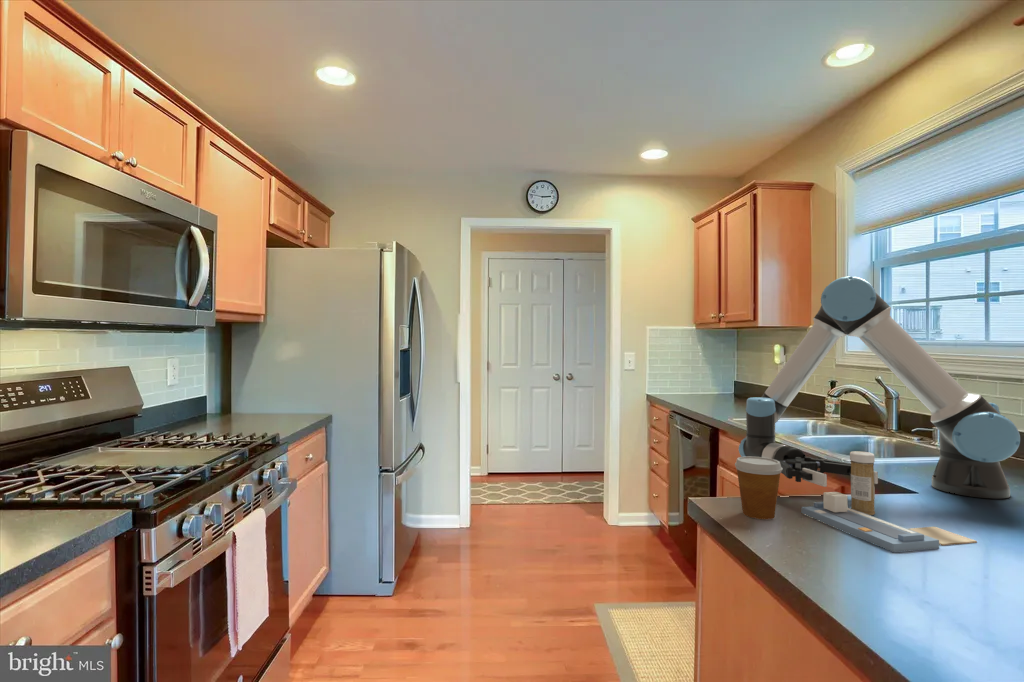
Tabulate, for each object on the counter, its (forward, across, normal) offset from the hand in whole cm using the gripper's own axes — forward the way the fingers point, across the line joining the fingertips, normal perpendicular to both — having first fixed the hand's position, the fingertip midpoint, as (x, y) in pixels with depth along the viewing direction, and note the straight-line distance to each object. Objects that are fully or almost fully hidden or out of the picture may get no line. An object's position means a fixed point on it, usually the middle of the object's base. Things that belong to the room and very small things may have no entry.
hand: (851, 479), depth 116 cm
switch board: (+11, +8, -7) cm, 16 cm away
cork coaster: (+17, -3, -7) cm, 19 cm away
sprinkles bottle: (+2, -1, -7) cm, 7 cm away
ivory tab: (+4, +8, -5) cm, 11 cm away
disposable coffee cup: (0, +23, -7) cm, 24 cm away
